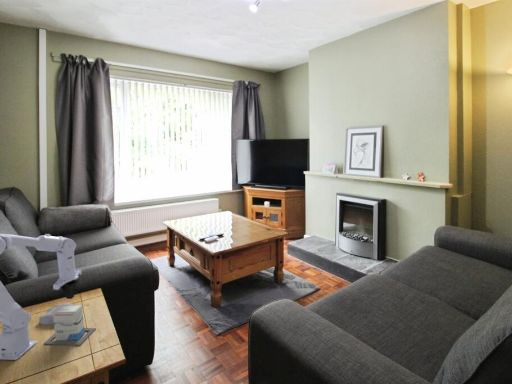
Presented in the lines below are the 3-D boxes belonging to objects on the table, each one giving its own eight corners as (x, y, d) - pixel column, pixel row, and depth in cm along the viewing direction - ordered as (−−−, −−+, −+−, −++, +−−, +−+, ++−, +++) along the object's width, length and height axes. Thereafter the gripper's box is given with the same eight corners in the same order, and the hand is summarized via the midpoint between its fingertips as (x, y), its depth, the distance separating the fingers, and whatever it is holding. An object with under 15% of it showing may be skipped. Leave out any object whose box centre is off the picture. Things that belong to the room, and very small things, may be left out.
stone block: (37, 329, 123) (60, 324, 123) (34, 318, 123) (57, 313, 122) (57, 314, 135) (78, 310, 135) (54, 304, 134) (75, 300, 134)
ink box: (85, 332, 118) (82, 304, 116) (78, 340, 113) (75, 311, 111) (63, 332, 118) (60, 305, 116) (55, 341, 113) (51, 312, 111)
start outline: (80, 345, 110) (80, 344, 110) (43, 344, 111) (43, 343, 111) (95, 329, 120) (95, 328, 120) (62, 328, 120) (61, 327, 120)
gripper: (64, 274, 114) (67, 307, 116) (87, 260, 129) (90, 289, 131) (46, 274, 115) (50, 307, 117) (71, 259, 129) (74, 289, 131)
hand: (70, 297), depth 124 cm, fingers closed
